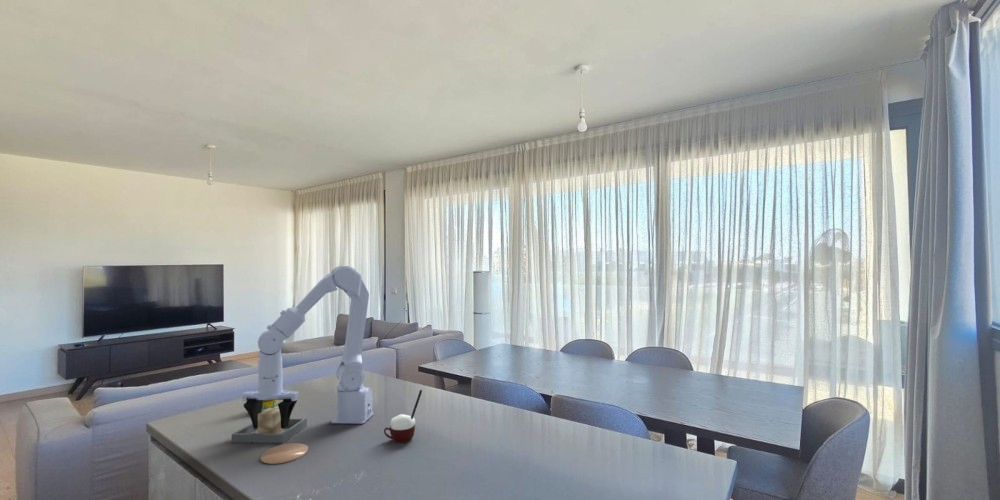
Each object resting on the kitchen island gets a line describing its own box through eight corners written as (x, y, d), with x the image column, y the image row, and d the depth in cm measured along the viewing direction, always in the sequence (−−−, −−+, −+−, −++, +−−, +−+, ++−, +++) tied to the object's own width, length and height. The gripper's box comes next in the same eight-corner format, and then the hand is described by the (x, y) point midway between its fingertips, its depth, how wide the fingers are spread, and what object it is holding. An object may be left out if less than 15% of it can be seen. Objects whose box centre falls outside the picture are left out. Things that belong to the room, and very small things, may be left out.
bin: (307, 425, 120) (306, 418, 120) (282, 443, 109) (282, 434, 109) (260, 425, 121) (260, 417, 121) (231, 442, 110) (231, 434, 110)
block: (283, 430, 117) (283, 407, 118) (272, 437, 112) (272, 414, 113) (269, 430, 118) (269, 407, 118) (257, 437, 113) (257, 414, 113)
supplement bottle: (276, 404, 139) (276, 374, 139) (278, 409, 134) (278, 378, 135) (257, 408, 136) (257, 377, 136) (259, 413, 131) (258, 381, 132)
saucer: (315, 445, 107) (315, 443, 107) (293, 464, 97) (293, 462, 97) (277, 445, 108) (277, 442, 108) (250, 463, 98) (250, 461, 98)
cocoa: (382, 445, 107) (378, 397, 107) (393, 434, 113) (389, 388, 113) (418, 446, 105) (414, 397, 105) (427, 434, 111) (424, 388, 111)
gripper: (234, 380, 112) (234, 433, 112) (288, 380, 111) (288, 433, 111) (252, 372, 119) (252, 422, 119) (302, 372, 118) (303, 423, 118)
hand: (270, 427), depth 115 cm, fingers open, 7 cm apart
